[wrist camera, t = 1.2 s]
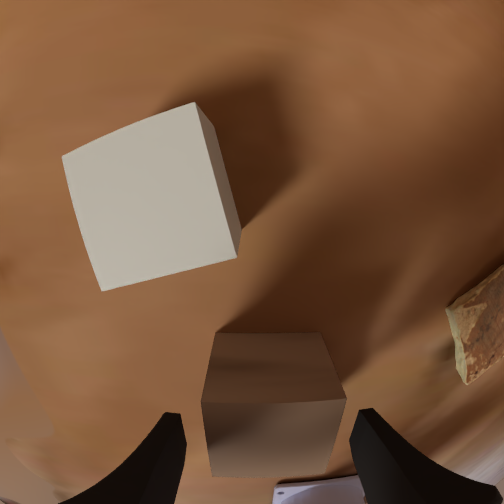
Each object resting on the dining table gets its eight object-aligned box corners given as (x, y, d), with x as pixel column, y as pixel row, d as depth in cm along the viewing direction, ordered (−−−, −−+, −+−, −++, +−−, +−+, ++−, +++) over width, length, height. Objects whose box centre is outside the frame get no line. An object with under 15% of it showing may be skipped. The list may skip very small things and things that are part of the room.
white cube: (241, 229, 13) (236, 257, 8) (145, 254, 13) (101, 291, 9) (214, 126, 12) (195, 101, 7) (118, 159, 12) (61, 156, 8)
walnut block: (309, 405, 15) (324, 473, 10) (220, 406, 15) (212, 476, 10) (320, 331, 14) (346, 398, 9) (215, 331, 14) (200, 401, 9)
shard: (540, 213, 13) (558, 217, 11) (546, 299, 14) (560, 307, 13) (438, 299, 14) (455, 312, 12) (454, 382, 16) (466, 396, 14)
